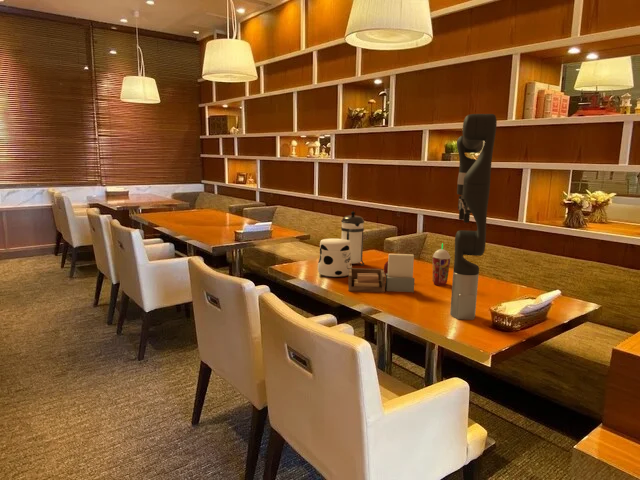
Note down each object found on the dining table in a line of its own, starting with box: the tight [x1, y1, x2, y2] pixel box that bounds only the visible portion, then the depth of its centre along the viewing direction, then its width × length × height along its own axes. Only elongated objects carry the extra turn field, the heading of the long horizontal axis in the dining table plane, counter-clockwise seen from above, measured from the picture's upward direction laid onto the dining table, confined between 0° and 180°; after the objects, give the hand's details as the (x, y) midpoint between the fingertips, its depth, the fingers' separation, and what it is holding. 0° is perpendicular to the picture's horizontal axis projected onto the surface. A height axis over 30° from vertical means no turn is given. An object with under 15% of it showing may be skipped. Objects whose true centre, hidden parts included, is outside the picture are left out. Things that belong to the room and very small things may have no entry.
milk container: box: [317, 238, 353, 279], centre depth 228 cm, size 17×17×18 cm
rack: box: [348, 267, 386, 293], centre depth 206 cm, size 14×16×8 cm
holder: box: [385, 274, 415, 295], centre depth 205 cm, size 8×12×7 cm, turn 87°
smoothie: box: [432, 242, 452, 287], centre depth 216 cm, size 8×8×20 cm
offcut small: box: [357, 273, 379, 283], centre depth 204 cm, size 5×9×3 cm, turn 91°
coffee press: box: [340, 211, 365, 266], centre depth 254 cm, size 17×16×30 cm
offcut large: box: [354, 279, 379, 287], centre depth 204 cm, size 6×11×4 cm, turn 87°
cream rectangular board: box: [387, 253, 415, 278], centre depth 204 cm, size 2×11×16 cm, turn 86°
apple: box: [383, 260, 388, 277], centre depth 222 cm, size 10×10×10 cm
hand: (463, 221), depth 196 cm, fingers open, 8 cm apart
